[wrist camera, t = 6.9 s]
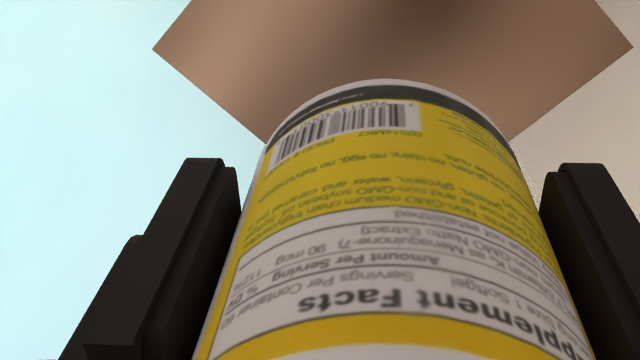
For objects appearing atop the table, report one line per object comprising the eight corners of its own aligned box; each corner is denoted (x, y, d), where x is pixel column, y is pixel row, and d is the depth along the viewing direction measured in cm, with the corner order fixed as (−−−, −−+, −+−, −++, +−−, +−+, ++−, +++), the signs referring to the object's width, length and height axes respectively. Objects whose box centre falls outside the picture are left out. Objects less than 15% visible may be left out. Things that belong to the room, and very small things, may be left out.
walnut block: (575, -8, 22) (633, 47, 17) (380, 156, 26) (379, 239, 21) (387, -231, 19) (389, -245, 14) (202, -4, 23) (151, 49, 18)
